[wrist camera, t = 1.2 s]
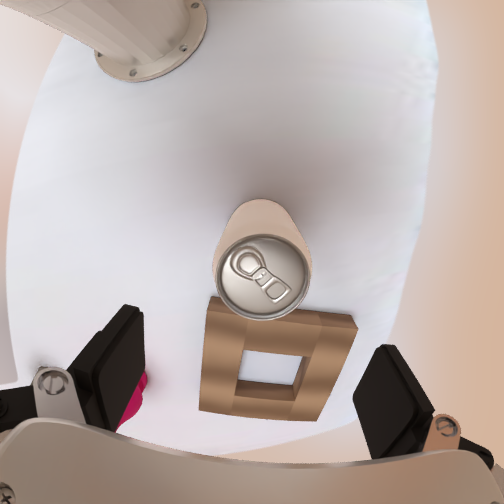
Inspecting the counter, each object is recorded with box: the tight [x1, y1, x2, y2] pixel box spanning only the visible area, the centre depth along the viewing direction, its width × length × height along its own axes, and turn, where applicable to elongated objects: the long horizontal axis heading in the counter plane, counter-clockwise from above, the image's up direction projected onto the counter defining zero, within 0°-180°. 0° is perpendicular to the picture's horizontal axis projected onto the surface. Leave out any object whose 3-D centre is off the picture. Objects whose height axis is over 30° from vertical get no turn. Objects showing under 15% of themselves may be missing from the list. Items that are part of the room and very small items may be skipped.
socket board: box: [199, 296, 358, 421], centre depth 32 cm, size 16×16×3 cm
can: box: [213, 199, 312, 321], centre depth 22 cm, size 6×6×12 cm
